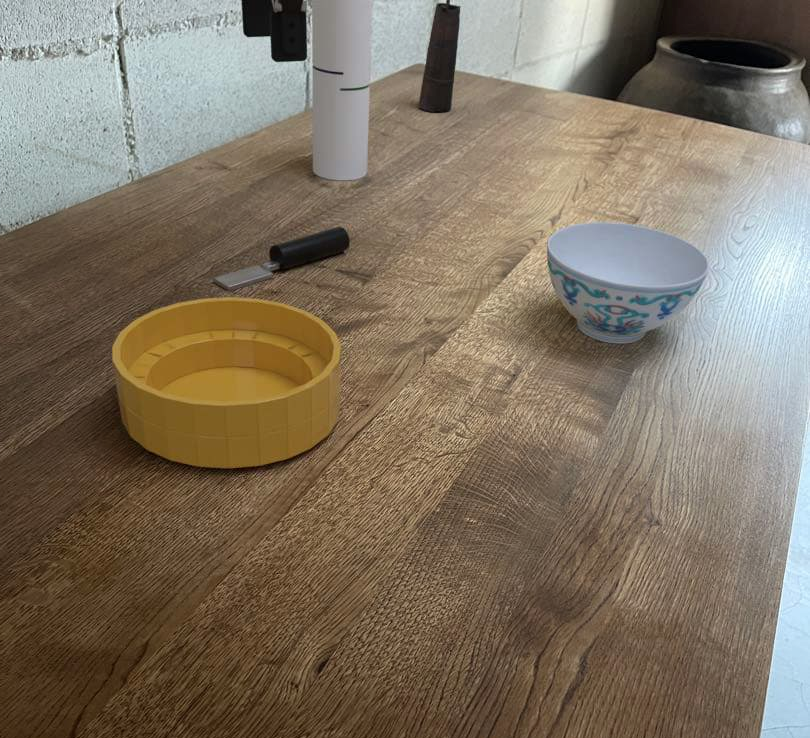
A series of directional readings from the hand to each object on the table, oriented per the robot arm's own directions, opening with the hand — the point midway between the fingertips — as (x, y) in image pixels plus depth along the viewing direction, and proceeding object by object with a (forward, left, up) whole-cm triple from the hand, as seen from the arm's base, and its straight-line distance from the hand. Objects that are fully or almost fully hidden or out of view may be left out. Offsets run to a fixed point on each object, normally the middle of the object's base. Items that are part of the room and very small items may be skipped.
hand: (274, 47), depth 87 cm
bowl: (+23, -23, -20) cm, 38 cm away
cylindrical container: (-17, +23, -20) cm, 35 cm away
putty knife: (+3, -2, -20) cm, 20 cm away
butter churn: (-31, +55, -20) cm, 67 cm away
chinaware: (+33, +15, -20) cm, 42 cm away
